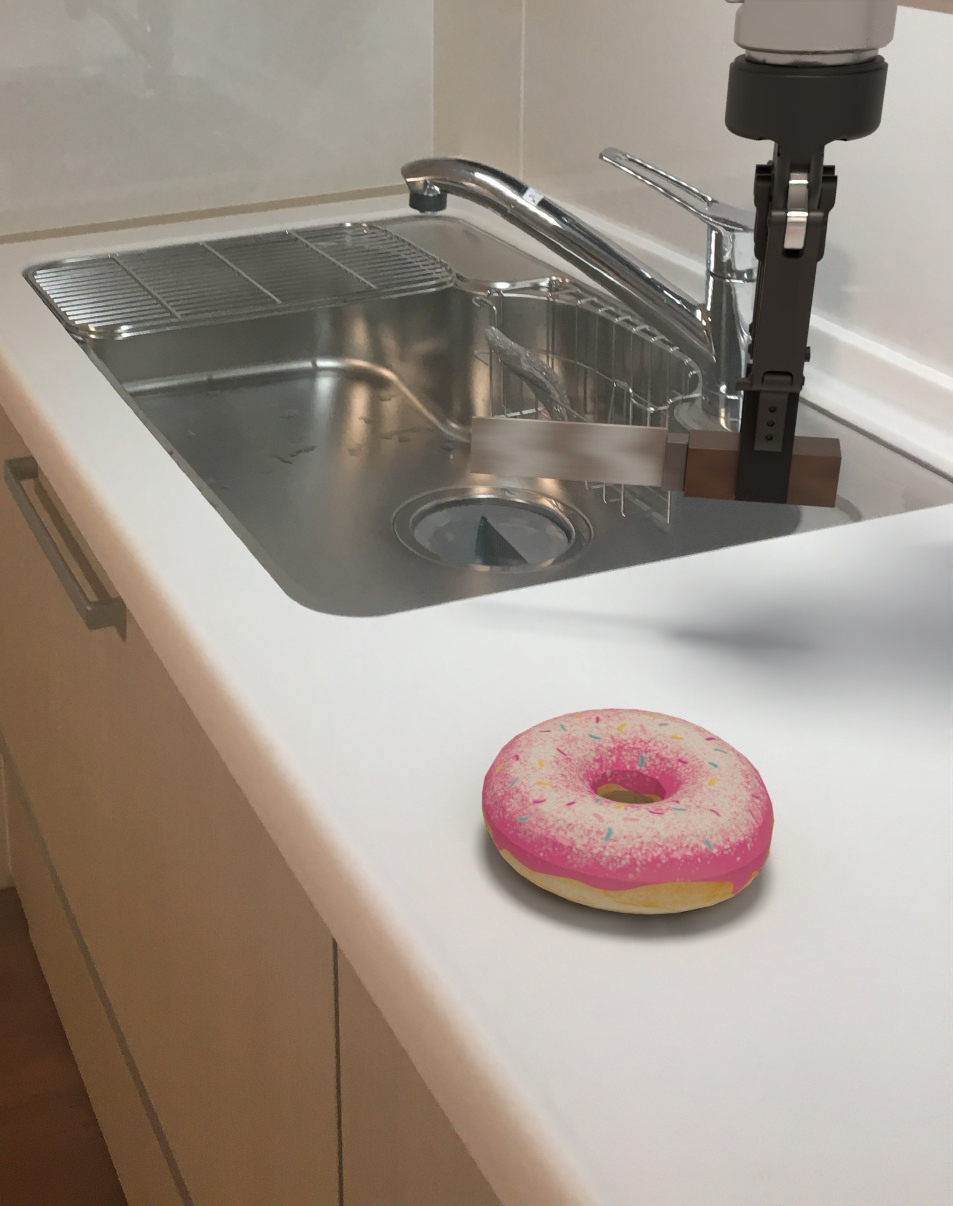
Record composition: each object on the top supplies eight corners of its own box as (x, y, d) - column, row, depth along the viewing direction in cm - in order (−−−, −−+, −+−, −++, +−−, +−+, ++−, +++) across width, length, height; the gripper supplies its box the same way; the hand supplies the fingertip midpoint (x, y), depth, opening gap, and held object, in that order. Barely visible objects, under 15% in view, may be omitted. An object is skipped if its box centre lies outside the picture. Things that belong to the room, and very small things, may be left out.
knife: (832, 488, 93) (840, 429, 92) (834, 508, 91) (843, 448, 89) (473, 463, 99) (475, 408, 97) (466, 481, 96) (468, 425, 95)
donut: (521, 950, 72) (527, 856, 70) (449, 787, 84) (452, 702, 82) (817, 923, 73) (833, 830, 71) (704, 766, 85) (714, 681, 83)
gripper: (732, 31, 90) (694, 434, 101) (728, 77, 77) (686, 538, 87) (879, 30, 88) (825, 441, 99) (902, 77, 75) (837, 549, 85)
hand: (760, 486), depth 93 cm, fingers closed on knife, 3 cm apart
